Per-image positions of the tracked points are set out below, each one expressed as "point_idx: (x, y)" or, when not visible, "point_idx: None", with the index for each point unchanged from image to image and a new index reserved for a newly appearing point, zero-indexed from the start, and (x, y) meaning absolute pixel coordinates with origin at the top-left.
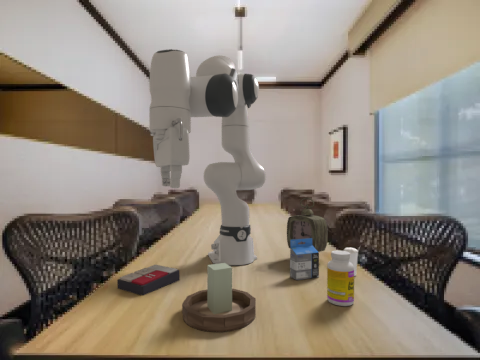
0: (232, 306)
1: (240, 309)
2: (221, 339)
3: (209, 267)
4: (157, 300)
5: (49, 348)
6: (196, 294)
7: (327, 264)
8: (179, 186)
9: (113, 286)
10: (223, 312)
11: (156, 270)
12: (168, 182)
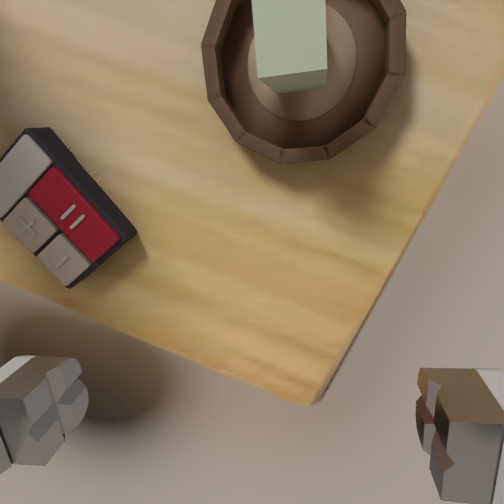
0: None
1: None
2: (423, 96)
3: (280, 75)
4: (175, 202)
5: (313, 377)
6: (231, 114)
7: None
8: (500, 372)
9: None
10: None
11: (30, 196)
12: (51, 389)
